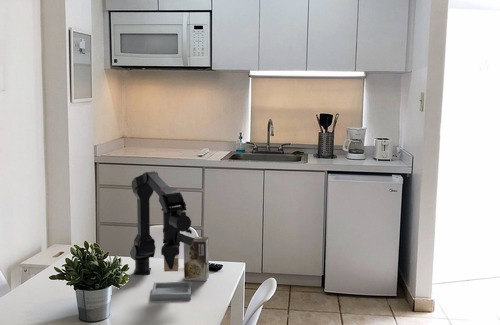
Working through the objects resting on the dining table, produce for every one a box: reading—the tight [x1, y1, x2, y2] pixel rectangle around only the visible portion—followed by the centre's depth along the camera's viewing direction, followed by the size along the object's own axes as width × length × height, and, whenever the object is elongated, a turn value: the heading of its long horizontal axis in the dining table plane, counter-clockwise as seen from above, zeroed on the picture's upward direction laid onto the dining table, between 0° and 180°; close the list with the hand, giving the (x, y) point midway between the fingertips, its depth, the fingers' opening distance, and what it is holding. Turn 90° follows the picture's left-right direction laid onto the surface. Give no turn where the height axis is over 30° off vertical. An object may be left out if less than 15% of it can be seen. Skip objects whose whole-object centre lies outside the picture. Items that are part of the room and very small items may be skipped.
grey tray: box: [150, 281, 192, 301], centre depth 209 cm, size 12×14×2 cm
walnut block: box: [163, 255, 180, 272], centre depth 207 cm, size 5×5×5 cm
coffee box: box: [183, 236, 210, 282], centre depth 224 cm, size 9×6×16 cm
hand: (171, 266), depth 207 cm, fingers closed on walnut block, 5 cm apart
